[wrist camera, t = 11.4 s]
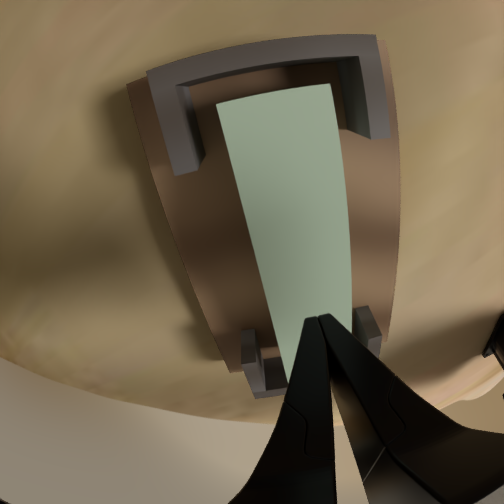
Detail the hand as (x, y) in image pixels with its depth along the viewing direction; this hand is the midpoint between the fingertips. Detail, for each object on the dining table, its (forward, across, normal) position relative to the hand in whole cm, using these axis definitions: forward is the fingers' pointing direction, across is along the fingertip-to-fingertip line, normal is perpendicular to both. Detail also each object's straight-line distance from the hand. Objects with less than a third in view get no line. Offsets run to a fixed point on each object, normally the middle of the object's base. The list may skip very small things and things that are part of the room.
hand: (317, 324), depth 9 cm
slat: (+5, 0, 0) cm, 5 cm away
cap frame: (+7, 0, 0) cm, 7 cm away
